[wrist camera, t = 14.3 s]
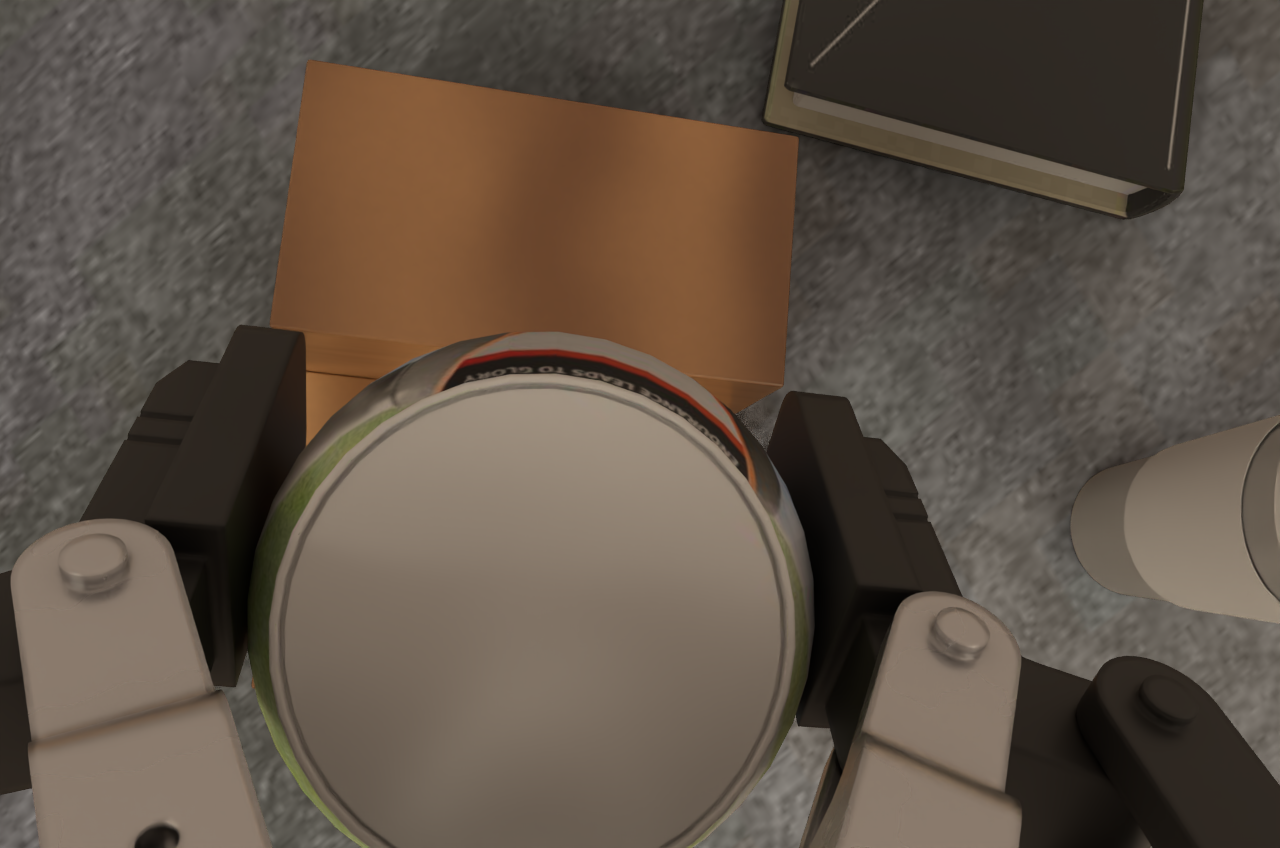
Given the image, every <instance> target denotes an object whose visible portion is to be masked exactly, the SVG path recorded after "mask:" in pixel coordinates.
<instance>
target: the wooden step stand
mask: <svg viewBox="0 0 1280 848" xmlns="http://www.w3.org/2000/svg"><path fill="white" fill-rule="evenodd" d="M798 146H799V138H798V137H797V136H792V135H785V134H779V133H773V132H766V131H760V130H754V129H747V128H741V127H735V126H728V125H722V124H715V123H709V122H703V121H696V120H690V119H684V118H677V117H671V116H665V115H658V114H652V113H646V112H639V111H633V110H626V109H620V108H614V107H607V106H601V105H595V104H588V103H582V102H576V101H569V100H563V99H557V98H550V97H544V96H537V95H531V94H525V93H518V92H512V91H506V90H499V89H493V88H487V87H480V86H474V85H468V84H461V83H455V82H449V81H442V80H436V79H429V78H423V77H417V76H410V75H404V74H398V73H391V72H385V71H379V70H372V69H366V68H360V67H353V66H347V65H340V64H334V63H328V62H321V61H315V60H308V62H307V65H306V72H305V79H304V86H303V93H302V100H301V107H300V114H299V121H298V128H297V135H296V142H295V149H294V156H293V163H292V170H291V177H290V184H289V191H288V198H287V205H286V212H285V219H284V226H283V233H282V240H281V247H280V254H279V261H278V268H277V275H276V282H275V289H274V296H273V303H272V310H271V317H270V327H271V328H274V329H282V330H290V331H299V332H303V333H304V336H305V342H306V426H307V433H306V446H307V445H308V444H309V443H310V441H311V440H312V439H313V438H314V436H315V435H316V434H317V433H318V432H319V430H320V429H321V428H322V427H323V426H324V424H325V423H326V422H327V421H328V420H329V418H330V417H331V416H332V415H334V414H335V413H336V412H337V411H338V410H339V409H341V408H342V407H343V406H344V405H345V404H347V403H348V402H349V401H350V400H351V399H352V398H354V397H355V396H356V395H357V394H358V393H360V392H361V391H362V390H363V389H364V388H365V387H367V386H368V385H369V384H370V383H372V382H374V381H376V380H377V379H379V378H381V377H382V376H384V375H386V374H388V373H389V372H391V371H393V370H394V369H396V368H398V367H399V366H401V365H403V364H405V363H406V362H408V361H410V360H411V359H413V358H416V357H419V356H421V355H424V354H427V353H429V352H432V351H435V350H437V349H440V348H443V347H446V346H448V345H451V344H454V343H456V342H459V341H464V340H469V339H474V338H480V337H485V336H490V335H496V334H501V333H507V332H563V333H569V334H575V335H581V336H587V337H593V338H599V339H605V340H608V341H611V342H614V343H617V344H620V345H623V346H625V347H628V348H631V349H634V350H637V351H640V352H643V353H646V354H648V355H651V356H653V357H655V358H657V359H658V360H660V361H662V362H664V363H666V364H667V365H669V366H671V367H673V368H675V369H676V370H678V371H680V372H682V373H683V374H685V375H687V376H689V377H691V378H692V379H694V380H695V381H696V382H698V383H699V384H700V385H701V386H703V387H704V388H705V389H706V390H707V391H709V392H710V393H711V394H712V395H714V396H715V397H716V398H717V399H719V400H720V401H721V402H722V403H723V404H725V405H726V406H727V407H728V408H730V409H731V410H732V412H733V413H734V414H736V413H738V412H739V411H741V410H743V409H745V408H746V407H748V406H750V405H752V404H753V403H755V402H757V401H759V400H760V399H762V398H764V397H766V396H767V395H769V394H771V393H773V392H774V391H776V390H778V389H780V388H781V387H783V385H784V371H785V355H786V339H787V322H788V306H789V290H790V274H791V258H792V242H793V226H794V210H795V194H796V178H797V162H798ZM252 688H254V689H255V684H254V679H253V678H252Z"/></svg>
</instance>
